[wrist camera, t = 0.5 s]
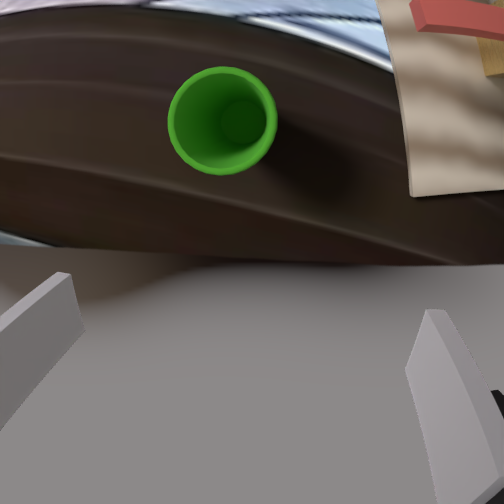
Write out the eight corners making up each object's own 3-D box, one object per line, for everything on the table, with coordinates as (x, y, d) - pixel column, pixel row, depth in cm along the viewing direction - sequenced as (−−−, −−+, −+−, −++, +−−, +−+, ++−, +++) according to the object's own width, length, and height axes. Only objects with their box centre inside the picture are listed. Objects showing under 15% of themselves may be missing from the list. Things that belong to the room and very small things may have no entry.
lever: (547, 23, 14) (564, 18, 11) (557, 61, 16) (575, 59, 13) (406, -4, 18) (417, -17, 15) (419, 40, 20) (432, 30, 17)
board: (346, -73, 22) (347, -78, 20) (488, -52, 17) (492, -55, 16) (409, 194, 34) (413, 197, 33) (541, 184, 29) (546, 186, 28)
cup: (302, 120, 33) (302, 116, 23) (246, 177, 36) (223, 198, 26) (241, 68, 32) (216, 45, 21) (189, 126, 35) (146, 128, 25)
